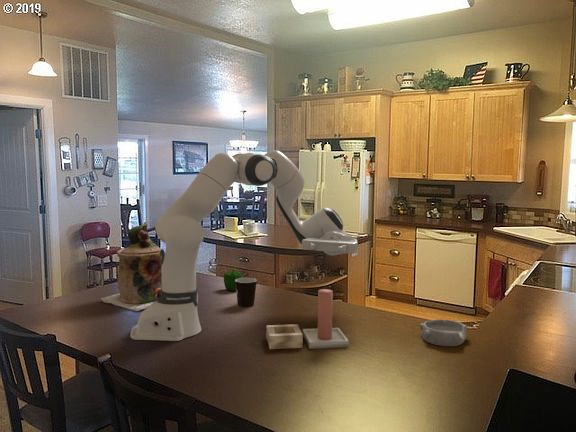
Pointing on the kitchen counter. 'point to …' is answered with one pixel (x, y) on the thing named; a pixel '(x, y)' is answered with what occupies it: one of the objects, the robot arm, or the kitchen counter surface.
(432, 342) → the dish
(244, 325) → the kitchen counter surface
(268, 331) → the socket block
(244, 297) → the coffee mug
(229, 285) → the bell pepper
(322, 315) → the dowel
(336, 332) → the tray
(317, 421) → the kitchen counter surface
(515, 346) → the kitchen counter surface
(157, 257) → the cookie jar
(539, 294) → the kitchen counter surface
